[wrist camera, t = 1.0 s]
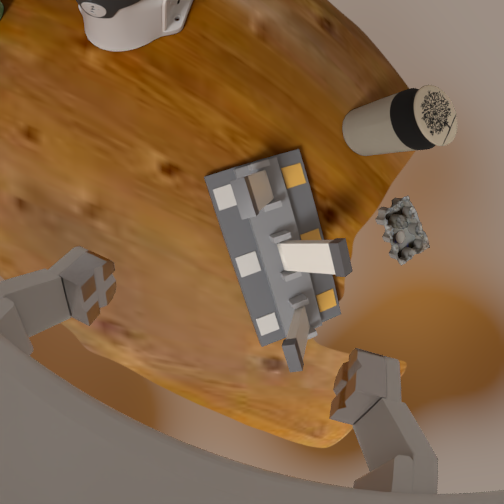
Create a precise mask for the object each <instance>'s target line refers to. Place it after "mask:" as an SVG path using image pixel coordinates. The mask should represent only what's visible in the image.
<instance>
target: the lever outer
mask: <svg viewBox="0 0 504 504" xmlns="http://www.w3.org/2000/svg"><path fill="white" fill-rule="evenodd" d="M309 328H310V325H309V321H308V317H307V314H306V310H305V306H302V307H299V308H297V309H295V311H294V314H293V317H292V321H291V324H290V327H289V331H288V334H287V337H286V339H285V340H284V341H283V344H282V348H283V351H284V354H285V358H286V361H287V364H288V367H289V370H290V372H296V371H302V370H303V365H304V363H303V357H304V353H305V348H306V343H307V338H308V333H309Z"/></svg>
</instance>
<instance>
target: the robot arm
mask: <svg viewBox="0 0 504 504" xmlns="http://www.w3.org/2000/svg"><path fill="white" fill-rule="evenodd" d="M76 1H77V2H78V4H79V5H78V7H79V10H80V12H81V14H82V15H83V19H84V27H85V33H86V35H87V37H88V39H89V40H90V41H91V42H92V43H93V44H94V45H95V46H97V47H99V48H101V49H104V50H108V51H127V50H132V49H135V48H138V47H141V46H144V45H146V44H148V43H150V42H151V41H153V40H155V39H157V38H159V37H161V36H166V35H171V34H175V33H178V32H180V31H181V30H182V29H183V26H184V24H185V21H186V18H187V15H188V12H189V10H190V7H191V4H192V2H193V0H76ZM175 19H179V21H175ZM114 271H115V266H114V262H112V261H111V260H109V259H107V258H105V257H102V256H100V255H98V254H96V253H94V252H92V251H89V250H87V249H85V248H83V247H81V246H77V247H74V248H73V249H72V250H71V251H70V252H68V253H67V254H66V255H65V256H64V257H62V258H61V259H60V260H59V261H58V262H57V263H55V264H54V265H53V266H52V267H51V268H50V269H48V270H46V269H42V270H39V271H35V272H32V273H28V274H25V275H21V276H18V277H14V278H11V279H7V280H4V281H1V282H0V504H504V490H499V491H490V492H479V493H463V494H462V493H460V494H437V484H438V483H437V482H438V481H437V480H438V458H437V456H436V454H435V453H434V451H433V449H432V447H431V446H430V444H429V442H428V441H427V439H426V437H425V435H424V434H423V432H422V430H421V429H420V427H419V425H418V424H417V422H416V420H415V419H414V417H413V416H412V414H411V412H410V410H409V409H408V407H407V405H406V404H405V403H403V402H401V383H400V382H401V381H400V364H399V361H398V360H397V359H394V358H390V357H386V356H383V355H379V354H375V353H372V352H368V351H364V350H361V349H357V348H355V349H354V350H353V351H352V352H351V353H350V355H349V361H348V362H346V363H343V365H342V366H341V368H340V369H339V371H338V374H337V376H336V379H335V383H334V389H333V390H334V392H335V394H336V397H335V398H334V399H333V401H332V404H331V411H330V418H329V419H332V420H336V421H340V422H343V423H347V424H351V425H353V428H354V431H355V434H356V436H357V439H358V441H359V444H360V446H361V449H362V452H363V454H364V457H365V460H366V463H367V465H368V468H369V471H370V472H369V473H367V474H366V475H364V476H362V477H361V478H358V479H357V480H355V481H354V486H353V488H349V487H342V486H337V485H331V484H325V483H320V482H315V481H310V480H305V479H301V478H296V477H291V476H288V475H283V474H279V473H275V472H272V471H268V470H264V469H261V468H257V467H254V466H251V465H247V464H244V463H241V462H238V461H234V460H231V459H228V458H226V457H222V456H220V455H217V454H214V453H211V452H208V451H206V450H203V449H201V448H198V447H195V446H193V445H190V444H188V443H185V442H182V441H180V440H178V439H175V438H173V437H171V436H168V435H166V434H164V433H162V432H160V431H157V430H155V429H153V428H151V427H149V426H146V425H144V424H142V423H140V422H138V421H136V420H134V419H132V418H130V417H128V416H126V415H124V414H122V413H120V412H118V411H117V410H115V409H113V408H111V407H109V406H107V405H106V404H104V403H102V402H100V401H98V400H97V399H95V398H93V397H91V396H90V395H88V394H86V393H85V392H83V391H81V390H80V389H78V388H77V387H75V386H73V385H72V384H70V383H68V382H67V381H65V380H64V379H62V378H61V377H59V376H58V375H56V374H55V373H53V372H52V371H50V370H49V369H47V368H46V367H45V366H43V365H41V364H40V363H39V362H37V361H36V360H35V359H33V358H32V357H31V356H30V354H31V353H32V352H33V346H32V344H31V342H30V340H29V337H31V336H33V335H35V334H37V333H39V332H41V331H44V330H46V329H48V328H50V327H52V326H54V325H56V324H58V323H61V322H63V321H65V320H67V319H69V318H71V317H73V318H75V319H77V320H79V321H81V322H83V323H85V324H87V325H89V326H90V325H91V324H92V323H93V321H94V320H95V319H96V318H97V317H98V316H99V314H100V308H101V307H104V306H107V305H108V304H109V303H110V301H111V300H112V299H113V296H114V294H115V291H116V280H115V278H114V277H113V275H112V273H113V272H114Z"/></svg>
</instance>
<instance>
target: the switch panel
mask: <svg viewBox="0 0 504 504" xmlns="http://www.w3.org/2000/svg"><path fill="white" fill-rule="evenodd" d="M263 170H266V173H267V176H268V180H269V183H270V186H271V190H272V193H273V196H274V198H273V200H271V201H270V202H269V203H268V204H267V205H266V206H265V207H263V208H262V209H261V210H260V211H259V214H258V215H257V216H255V217H251V218H247V219H243V220H242V219H241V216H240V212H239V209H238V206H237V203H236V200H235V197H234V193H233V190H232V187H231V184H230V181H232V180H235V179H238V178H241V177H245V176H248V175H251V174H253V173H256V172H259V171H263ZM204 179H205V182H206V185H207V188H208V191H209V194H210V197H211V201H212V204H213V207H214V210H215V213H216V216H217V219H218V222H219V225H220V228H221V231H222V234H223V237H224V240H225V243H226V246H227V249H228V252H229V255H230V258H231V261H232V264H233V267H234V270H235V273H236V276H237V279H238V282H239V284H240V287H241V290H242V293H243V296H244V299H245V302H246V305H247V308H248V311H249V314H250V316H251V319H252V322H253V325H254V328H255V331H256V334H257V336H258V339H259V342H260V344H261V346H262V347H263V346H265V345H268V344H270V343H273V342H276V341H278V340H281V339H283V338H286V337H287V334H288V331H289V327H290V324H291V321H292V317H293V314H294V311H295V309H297V308H299V307H302V306H305V310H306V314H307V317H308V321H309V325H310V328H309V333H308V338H307V340H308V339H310V338H312V337H315V336H317V332H316V330H315V329H314V328H317V327H319V326H321V325H322V322H324V321H326V320H329V319H331V318H333V317H336V316H338V315H340V314H341V312H340V307H339V302H338V298H337V293H336V288H335V284H334V279H333V275H332V274H322V273H309V272H297V271H286V270H284V267H283V264H282V260H281V257H280V253H279V250H278V247H277V243H279V242H282V241H285V240H324V238H323V234H322V230H321V226H320V222H319V218H318V214H317V211H316V207H315V203H314V199H313V196H312V192H311V189H310V185H309V181H308V178H307V174H306V171H305V168H304V164H303V161H302V157H301V154H300V151H299V149H297V150H293V151H289V152H286V153H282V154H278V155H275V156H271V157H268V158H264V159H261V160H257V161H254V162H251V163H247V164H244V165H241V166H237V167H234V168H231V169H228V170H225V171H221V172H218V173H215V174H212V175H209V176H206V177H204Z"/></svg>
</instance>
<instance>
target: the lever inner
mask: <svg viewBox="0 0 504 504" xmlns="http://www.w3.org/2000/svg"><path fill="white" fill-rule="evenodd" d="M230 184H231V187H232V190H233V193H234V197H235V200H236V203H237V206H238V209H239V212H240V216H241V219H242V220H243V219H247V218H251V217H255V216H257V215H258V214H259V211H260V210H261V209H262V208H263V207H265V206H266V205H267V204H268V203H269V202H270V201H271V200H273V198H274V196H273V193H272V190H271V186H270V183H269V180H268V176H267V173H266V170H263V171H259V172H256V173H253V174H251V175H248V176H245V177H241V178H238V179H235V180H232V181H230Z"/></svg>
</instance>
